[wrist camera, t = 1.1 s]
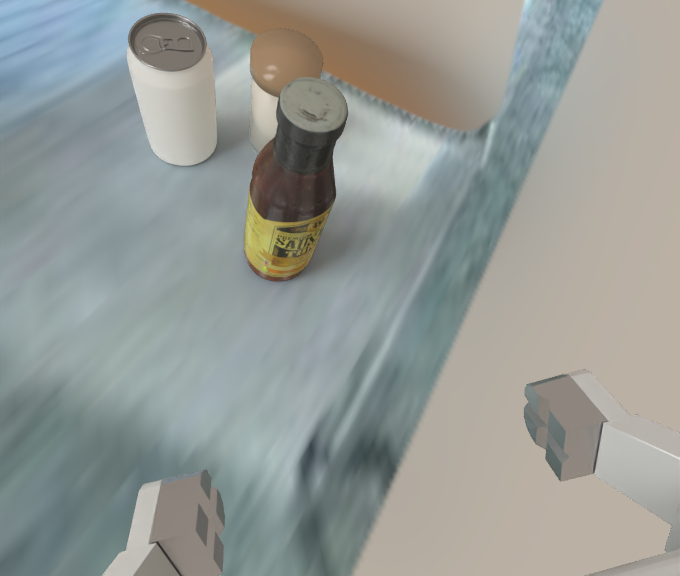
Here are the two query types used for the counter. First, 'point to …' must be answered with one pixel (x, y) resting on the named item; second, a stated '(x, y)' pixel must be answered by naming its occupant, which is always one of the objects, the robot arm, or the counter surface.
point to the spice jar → (277, 76)
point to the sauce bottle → (294, 180)
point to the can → (174, 87)
